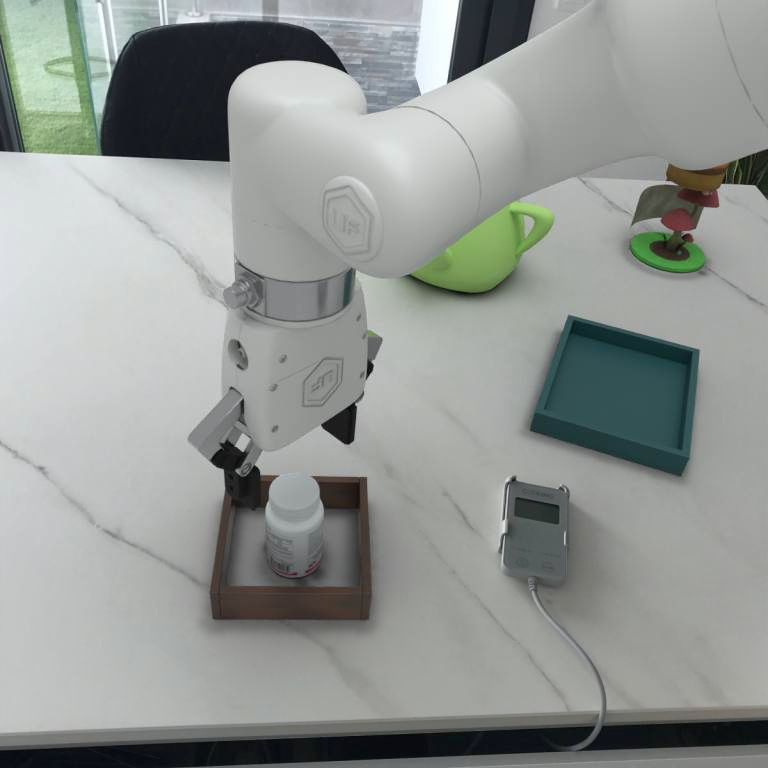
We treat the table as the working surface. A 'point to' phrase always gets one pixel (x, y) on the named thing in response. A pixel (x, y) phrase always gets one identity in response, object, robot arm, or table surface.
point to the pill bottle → (294, 525)
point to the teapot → (488, 250)
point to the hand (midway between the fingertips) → (292, 464)
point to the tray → (621, 394)
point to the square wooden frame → (294, 598)
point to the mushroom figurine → (676, 217)
